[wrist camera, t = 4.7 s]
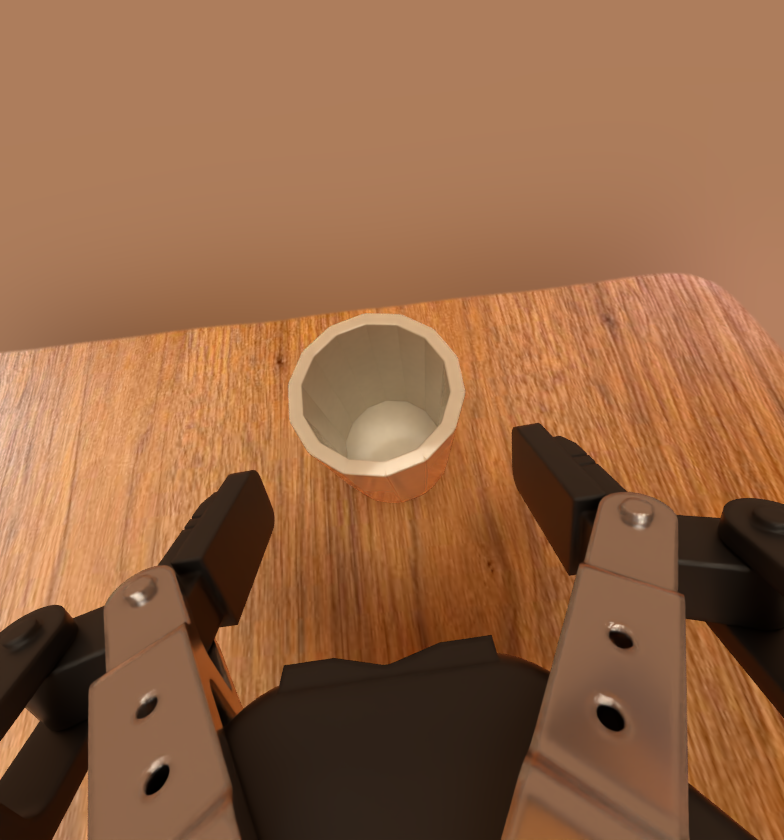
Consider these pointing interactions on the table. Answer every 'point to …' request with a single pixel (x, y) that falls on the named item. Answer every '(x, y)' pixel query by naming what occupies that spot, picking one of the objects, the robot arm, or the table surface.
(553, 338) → the table surface
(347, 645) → the table surface
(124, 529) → the table surface
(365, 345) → the cup
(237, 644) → the table surface
